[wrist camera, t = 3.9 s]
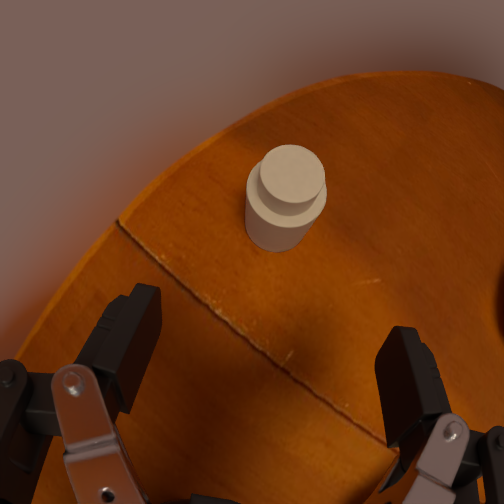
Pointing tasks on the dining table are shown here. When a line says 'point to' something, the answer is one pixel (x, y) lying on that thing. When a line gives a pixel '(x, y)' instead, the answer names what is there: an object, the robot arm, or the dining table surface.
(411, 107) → the dining table surface
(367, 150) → the dining table surface
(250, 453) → the dining table surface
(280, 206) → the small white bottle
